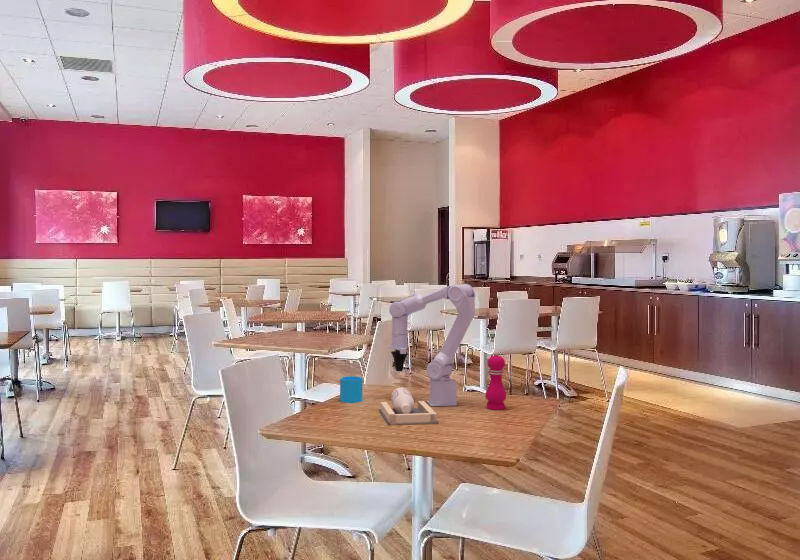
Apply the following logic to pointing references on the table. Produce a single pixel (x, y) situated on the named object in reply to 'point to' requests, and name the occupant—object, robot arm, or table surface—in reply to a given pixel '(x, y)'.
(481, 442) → the table surface
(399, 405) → the bath foam
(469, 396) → the table surface
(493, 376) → the pepper mill
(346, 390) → the mug
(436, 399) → the robot arm
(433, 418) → the cradle
